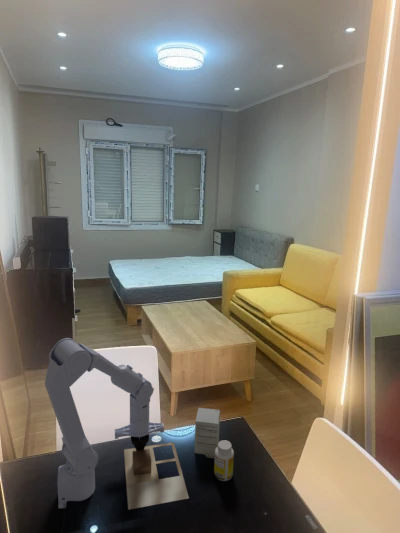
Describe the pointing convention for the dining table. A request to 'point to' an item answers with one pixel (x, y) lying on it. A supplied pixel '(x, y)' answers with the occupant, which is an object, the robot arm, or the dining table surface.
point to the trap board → (153, 482)
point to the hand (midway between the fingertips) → (139, 454)
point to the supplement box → (207, 431)
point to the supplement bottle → (224, 461)
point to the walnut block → (141, 462)
